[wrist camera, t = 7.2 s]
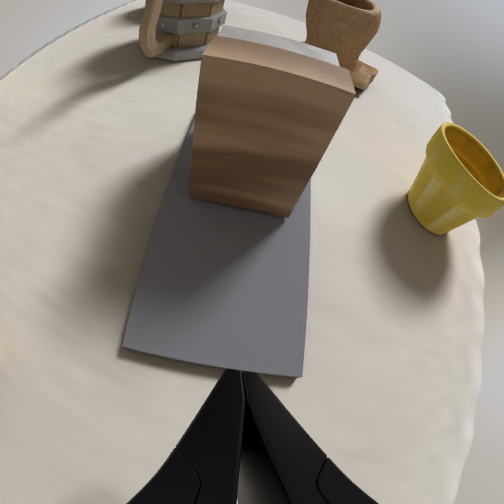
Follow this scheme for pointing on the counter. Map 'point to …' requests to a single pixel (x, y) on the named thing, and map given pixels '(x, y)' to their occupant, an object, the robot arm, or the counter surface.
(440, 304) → the counter surface
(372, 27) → the stone cup
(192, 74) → the counter surface
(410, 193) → the plant pot
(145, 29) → the tankard
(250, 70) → the wood block
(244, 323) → the mat
